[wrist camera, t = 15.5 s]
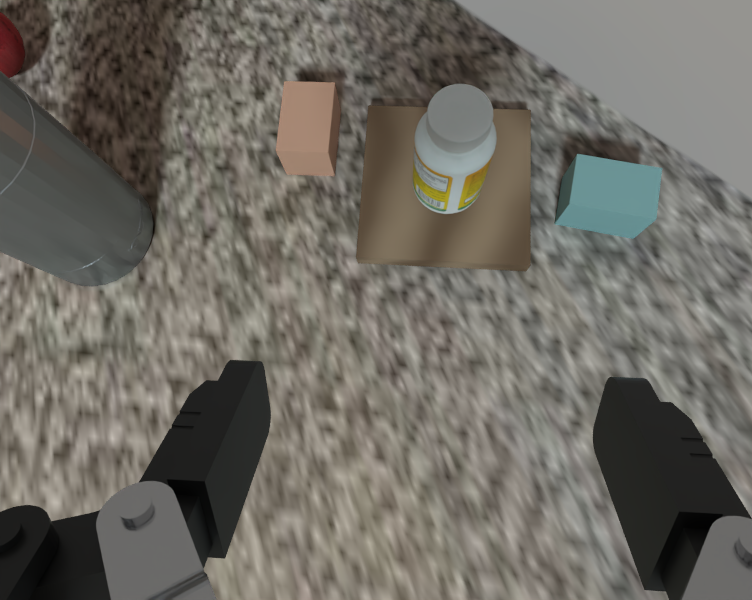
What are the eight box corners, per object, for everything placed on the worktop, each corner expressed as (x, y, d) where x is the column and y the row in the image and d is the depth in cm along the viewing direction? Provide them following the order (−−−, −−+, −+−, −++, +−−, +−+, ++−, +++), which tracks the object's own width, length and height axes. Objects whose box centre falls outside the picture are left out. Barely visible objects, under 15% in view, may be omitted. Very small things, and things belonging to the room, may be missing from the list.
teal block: (554, 224, 41) (569, 203, 37) (561, 178, 42) (577, 153, 38) (632, 239, 41) (656, 219, 37) (638, 192, 42) (662, 168, 38)
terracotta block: (335, 176, 43) (327, 152, 40) (287, 175, 44) (275, 150, 40) (341, 112, 45) (334, 82, 41) (294, 111, 45) (284, 81, 41)
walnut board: (357, 263, 41) (356, 257, 40) (369, 116, 44) (368, 105, 43) (525, 271, 40) (530, 265, 39) (526, 120, 43) (530, 109, 42)
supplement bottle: (415, 218, 40) (418, 156, 31) (409, 155, 42) (410, 77, 32) (486, 213, 40) (509, 148, 31) (478, 149, 41) (499, 69, 32)
